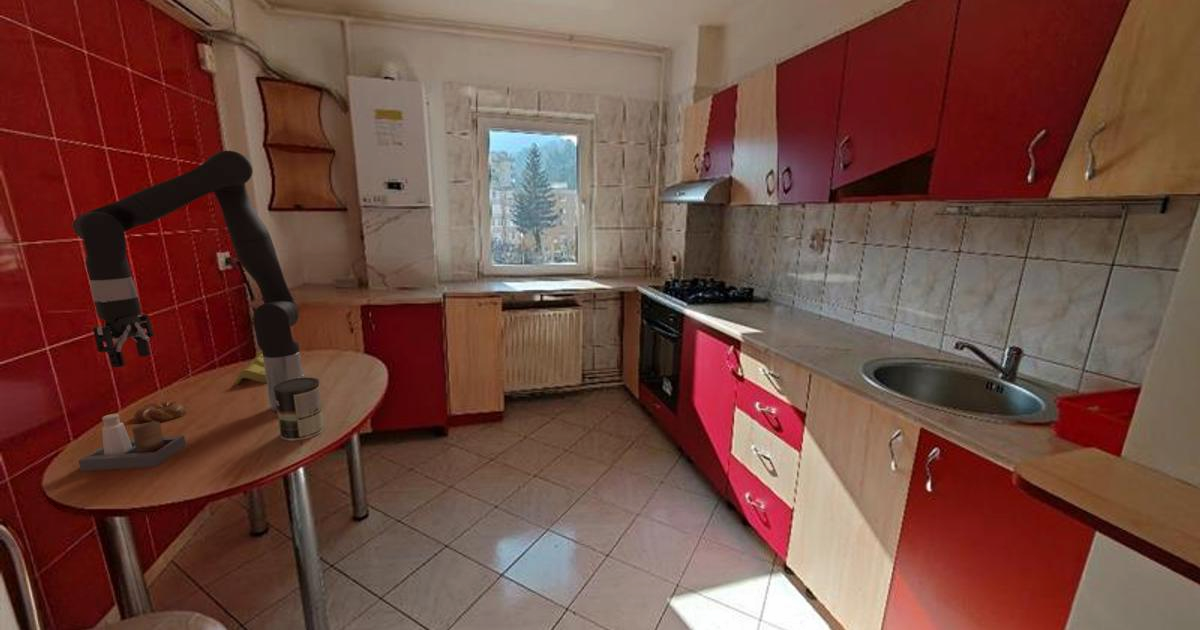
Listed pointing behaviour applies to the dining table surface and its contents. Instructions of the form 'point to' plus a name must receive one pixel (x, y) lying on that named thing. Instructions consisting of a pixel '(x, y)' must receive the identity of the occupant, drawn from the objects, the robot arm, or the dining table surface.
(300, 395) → the coffee can
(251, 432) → the dining table surface
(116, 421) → the salt shaker
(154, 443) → the fitted dowel
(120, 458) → the grey rectangular open block
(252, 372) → the plastic component
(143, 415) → the bread roll
